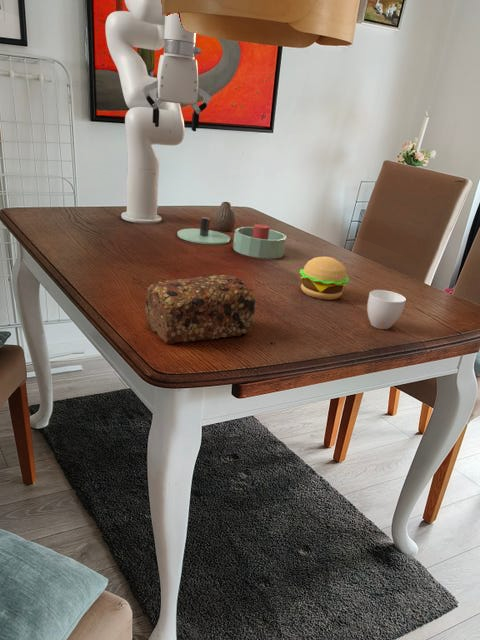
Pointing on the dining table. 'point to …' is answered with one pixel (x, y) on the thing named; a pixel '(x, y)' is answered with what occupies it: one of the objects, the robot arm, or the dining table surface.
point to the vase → (224, 217)
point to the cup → (384, 308)
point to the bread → (199, 308)
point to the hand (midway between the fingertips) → (175, 128)
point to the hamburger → (324, 278)
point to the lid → (204, 234)
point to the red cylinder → (261, 231)
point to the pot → (259, 243)
